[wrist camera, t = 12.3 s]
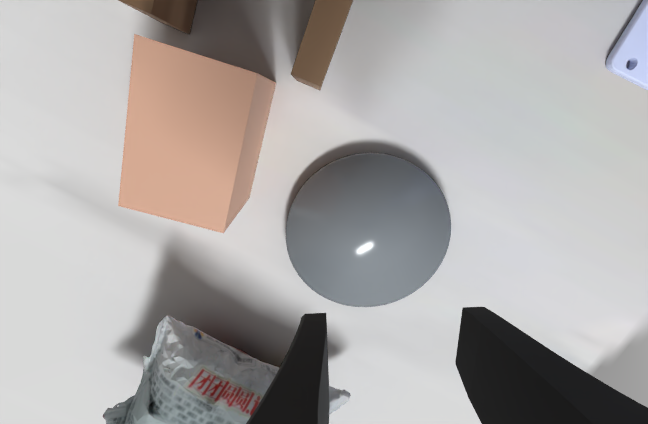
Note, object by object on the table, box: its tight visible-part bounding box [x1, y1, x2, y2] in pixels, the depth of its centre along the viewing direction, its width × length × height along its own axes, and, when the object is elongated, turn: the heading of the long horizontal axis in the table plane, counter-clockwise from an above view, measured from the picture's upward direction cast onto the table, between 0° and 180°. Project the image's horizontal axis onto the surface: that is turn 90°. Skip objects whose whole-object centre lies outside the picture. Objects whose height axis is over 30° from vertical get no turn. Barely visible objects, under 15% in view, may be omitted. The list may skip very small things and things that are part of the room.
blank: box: [118, 34, 276, 233], centre depth 14 cm, size 4×6×5 cm, turn 163°
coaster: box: [286, 153, 451, 307], centre depth 17 cm, size 9×9×1 cm
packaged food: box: [103, 316, 351, 424], centre depth 18 cm, size 9×12×5 cm
